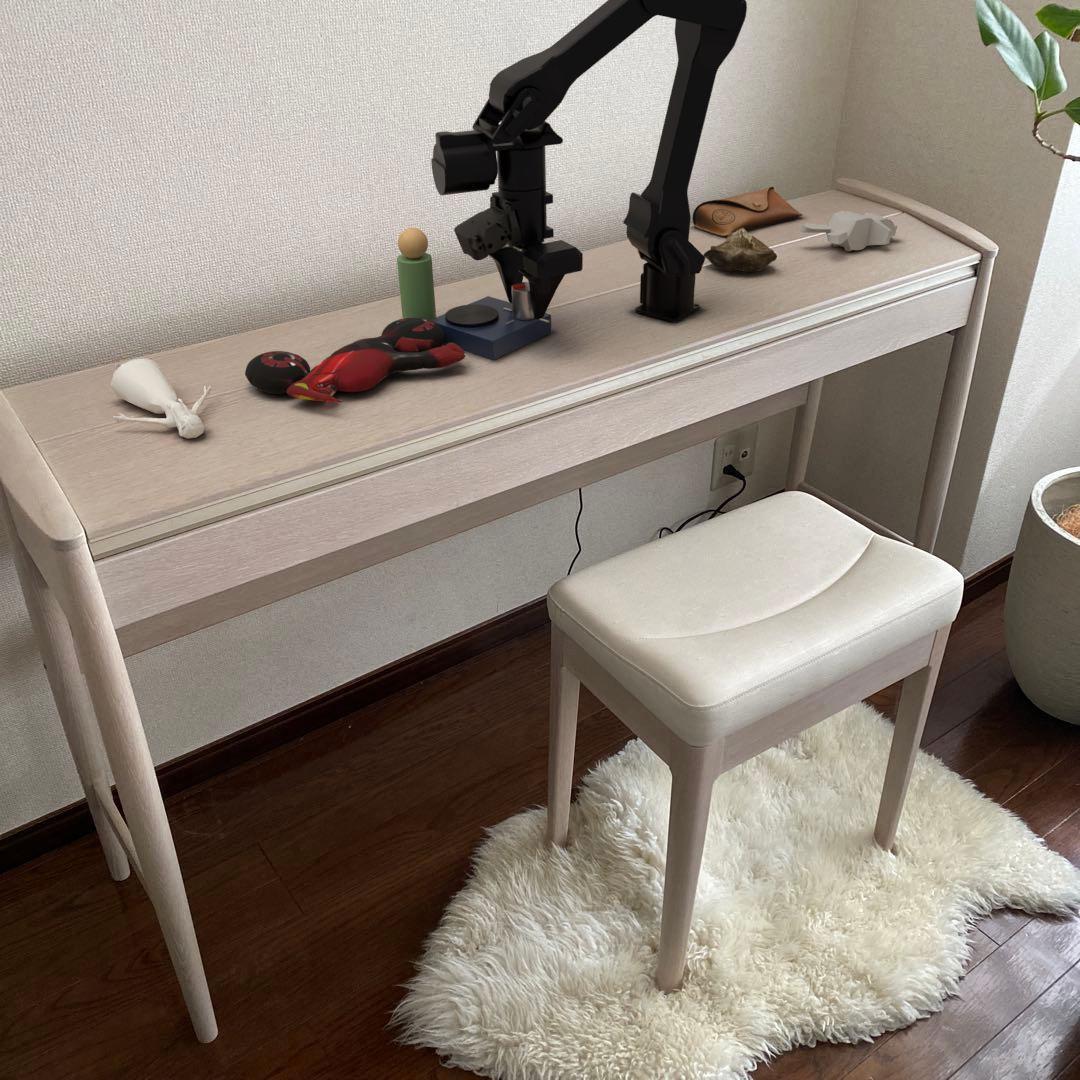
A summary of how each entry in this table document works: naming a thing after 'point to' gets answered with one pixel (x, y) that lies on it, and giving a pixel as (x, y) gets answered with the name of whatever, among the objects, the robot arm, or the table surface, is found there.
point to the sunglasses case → (743, 212)
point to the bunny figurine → (855, 230)
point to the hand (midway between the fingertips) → (525, 310)
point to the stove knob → (522, 301)
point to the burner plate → (471, 316)
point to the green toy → (415, 275)
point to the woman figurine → (155, 397)
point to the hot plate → (496, 331)
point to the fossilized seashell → (741, 253)
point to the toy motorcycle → (355, 362)
